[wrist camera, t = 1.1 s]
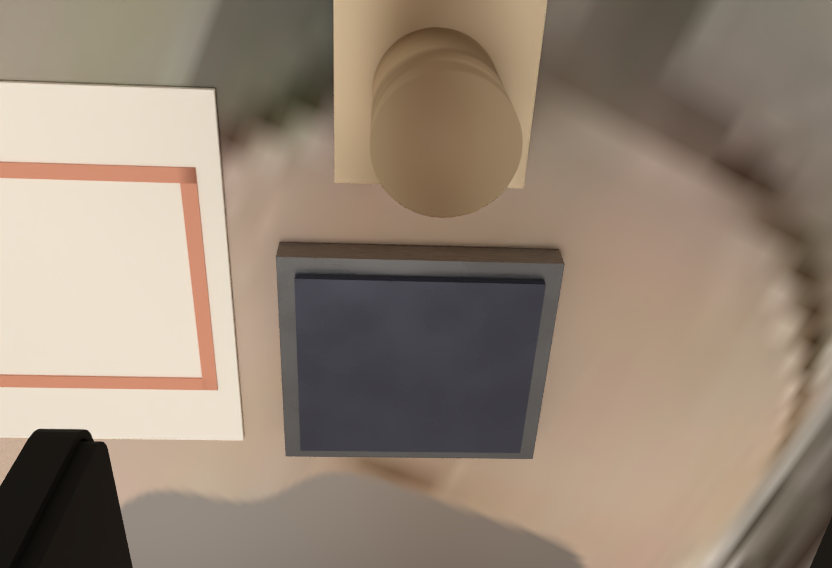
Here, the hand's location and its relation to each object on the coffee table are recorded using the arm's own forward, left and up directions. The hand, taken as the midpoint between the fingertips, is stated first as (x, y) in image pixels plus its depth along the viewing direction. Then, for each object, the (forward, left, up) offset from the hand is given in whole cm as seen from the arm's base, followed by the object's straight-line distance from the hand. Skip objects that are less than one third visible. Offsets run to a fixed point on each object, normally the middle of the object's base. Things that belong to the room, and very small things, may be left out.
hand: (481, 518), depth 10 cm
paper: (+13, +9, -20) cm, 26 cm away
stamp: (0, 0, -20) cm, 20 cm away
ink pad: (0, +12, -20) cm, 23 cm away
